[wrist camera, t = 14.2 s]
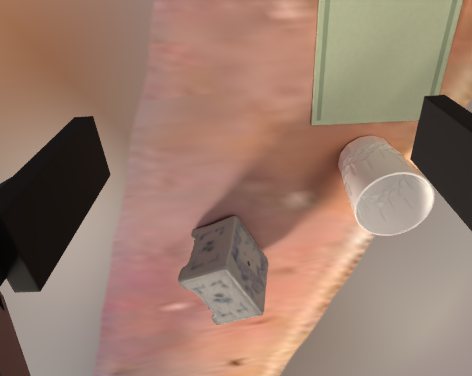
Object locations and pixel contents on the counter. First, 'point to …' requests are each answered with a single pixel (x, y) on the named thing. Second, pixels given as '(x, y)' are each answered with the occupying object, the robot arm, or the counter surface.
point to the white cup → (384, 187)
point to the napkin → (380, 58)
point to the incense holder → (227, 271)
